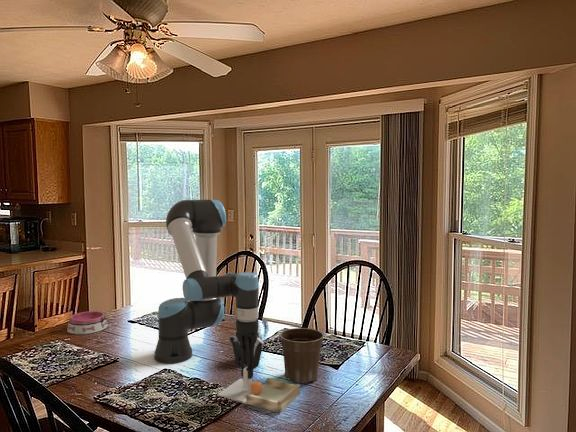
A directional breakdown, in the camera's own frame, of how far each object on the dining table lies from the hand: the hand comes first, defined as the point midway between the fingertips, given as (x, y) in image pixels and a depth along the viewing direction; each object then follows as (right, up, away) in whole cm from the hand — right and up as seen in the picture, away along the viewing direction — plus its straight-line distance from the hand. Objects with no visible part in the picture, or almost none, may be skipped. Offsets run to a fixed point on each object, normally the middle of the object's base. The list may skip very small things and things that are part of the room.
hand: (247, 386), depth 152 cm
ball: (+3, 0, -2) cm, 4 cm away
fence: (+9, -2, -4) cm, 10 cm away
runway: (+4, -2, -2) cm, 5 cm away
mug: (-1, 0, +30) cm, 30 cm away
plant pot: (+19, -2, +13) cm, 23 cm away
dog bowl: (-84, +3, +67) cm, 108 cm away
